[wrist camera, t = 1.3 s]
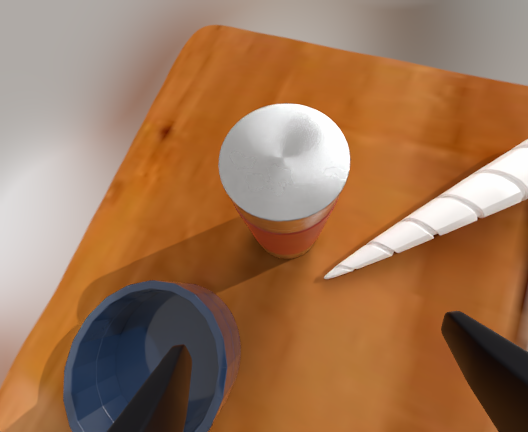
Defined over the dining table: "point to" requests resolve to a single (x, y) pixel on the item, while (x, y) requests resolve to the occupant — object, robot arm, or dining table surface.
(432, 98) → the dining table surface
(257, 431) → the dining table surface
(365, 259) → the unicorn horn
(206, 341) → the pot
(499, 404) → the robot arm
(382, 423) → the dining table surface
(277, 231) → the tin
